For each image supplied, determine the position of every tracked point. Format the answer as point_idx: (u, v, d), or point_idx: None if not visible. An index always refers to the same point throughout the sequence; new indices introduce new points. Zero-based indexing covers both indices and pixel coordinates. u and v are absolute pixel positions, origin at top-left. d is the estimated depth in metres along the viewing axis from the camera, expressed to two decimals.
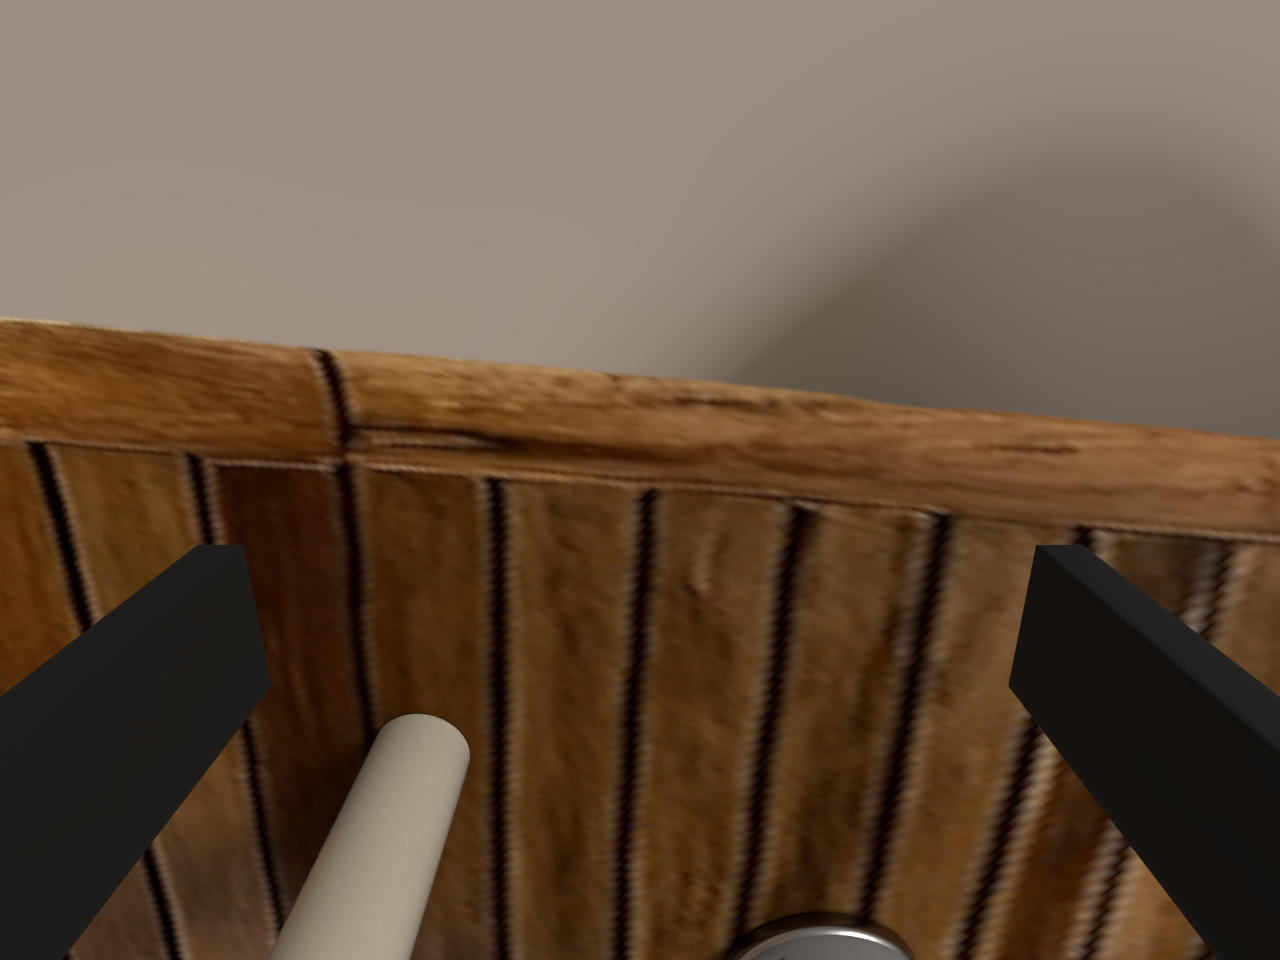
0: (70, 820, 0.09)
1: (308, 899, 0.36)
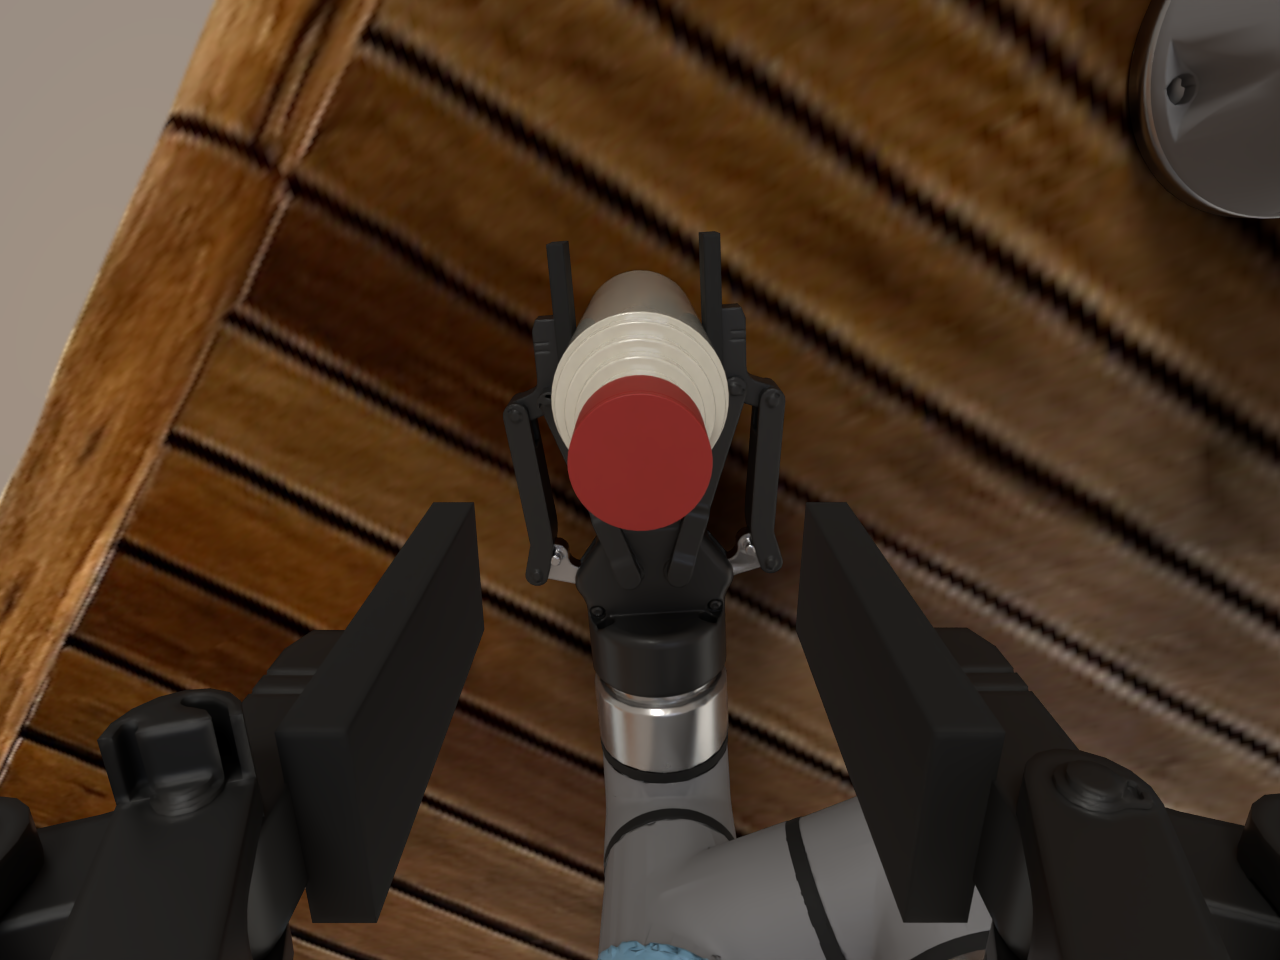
0: (413, 715, 0.10)
1: None
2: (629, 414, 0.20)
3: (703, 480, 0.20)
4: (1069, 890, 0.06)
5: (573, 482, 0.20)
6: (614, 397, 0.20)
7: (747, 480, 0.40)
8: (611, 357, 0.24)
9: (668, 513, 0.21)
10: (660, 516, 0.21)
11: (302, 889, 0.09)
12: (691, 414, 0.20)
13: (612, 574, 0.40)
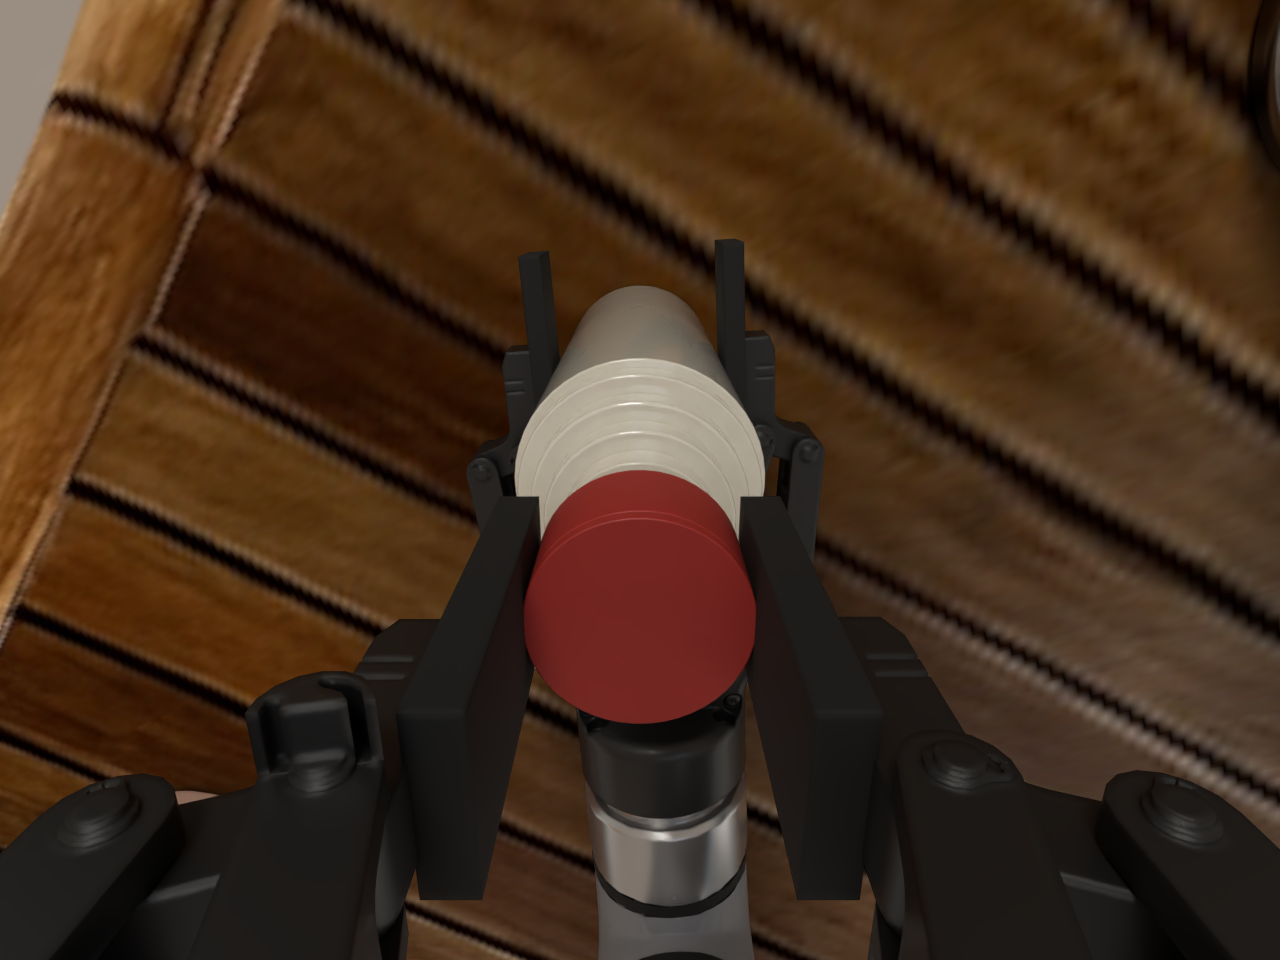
0: (503, 701, 0.11)
1: None
2: (622, 550, 0.12)
3: (742, 650, 0.13)
4: (935, 869, 0.06)
5: (532, 653, 0.13)
6: (597, 523, 0.12)
7: None
8: (598, 429, 0.17)
9: (685, 698, 0.13)
10: (672, 703, 0.13)
11: (414, 866, 0.09)
12: (724, 550, 0.12)
13: None
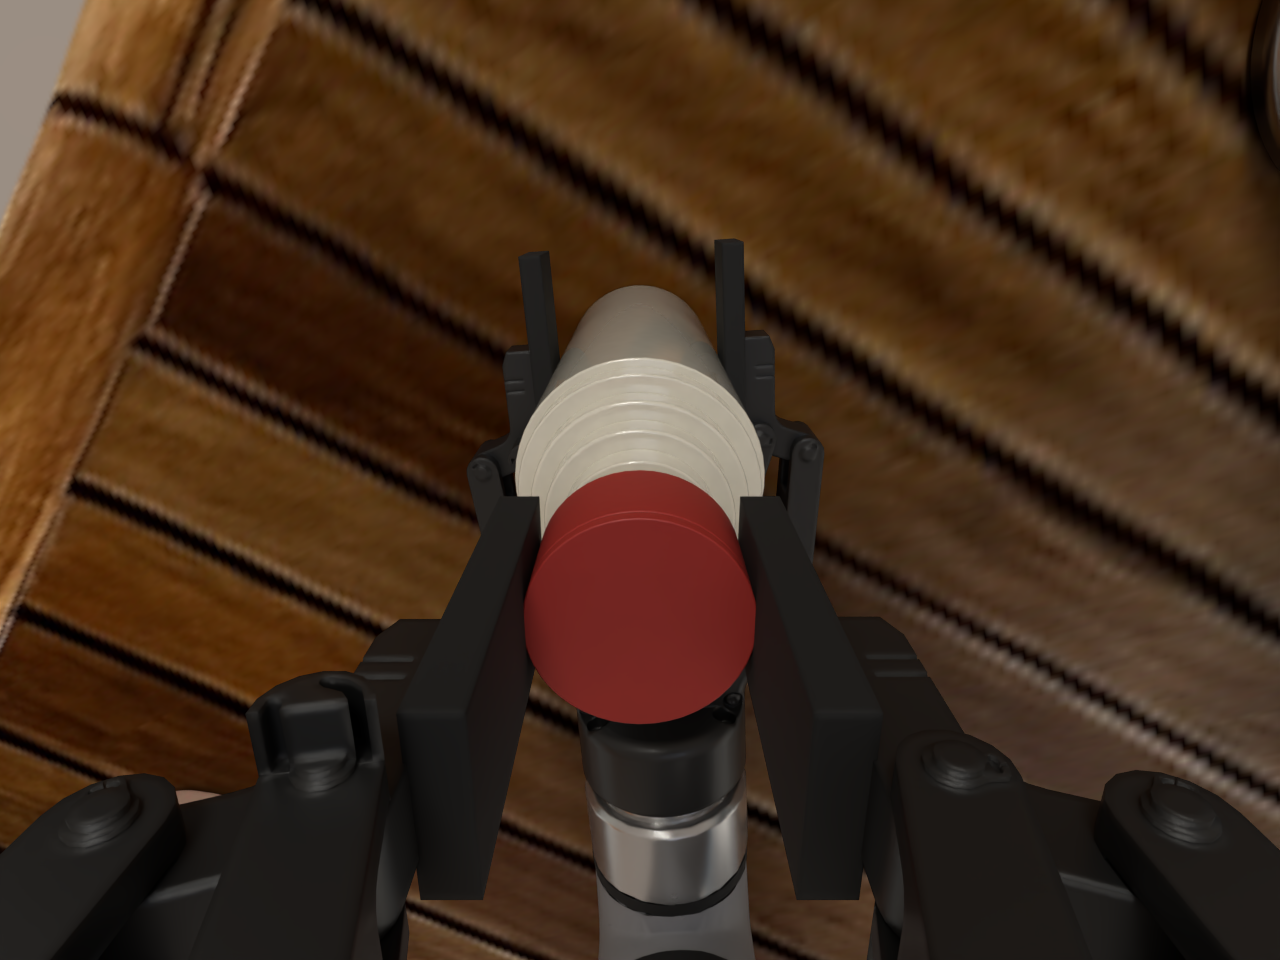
0: (504, 701, 0.11)
1: None
2: (557, 644, 0.13)
3: (663, 531, 0.12)
4: (934, 868, 0.06)
5: (673, 717, 0.13)
6: (533, 664, 0.13)
7: None
8: (598, 428, 0.17)
9: (725, 581, 0.12)
10: (730, 593, 0.12)
11: (414, 866, 0.09)
12: (549, 555, 0.12)
13: None
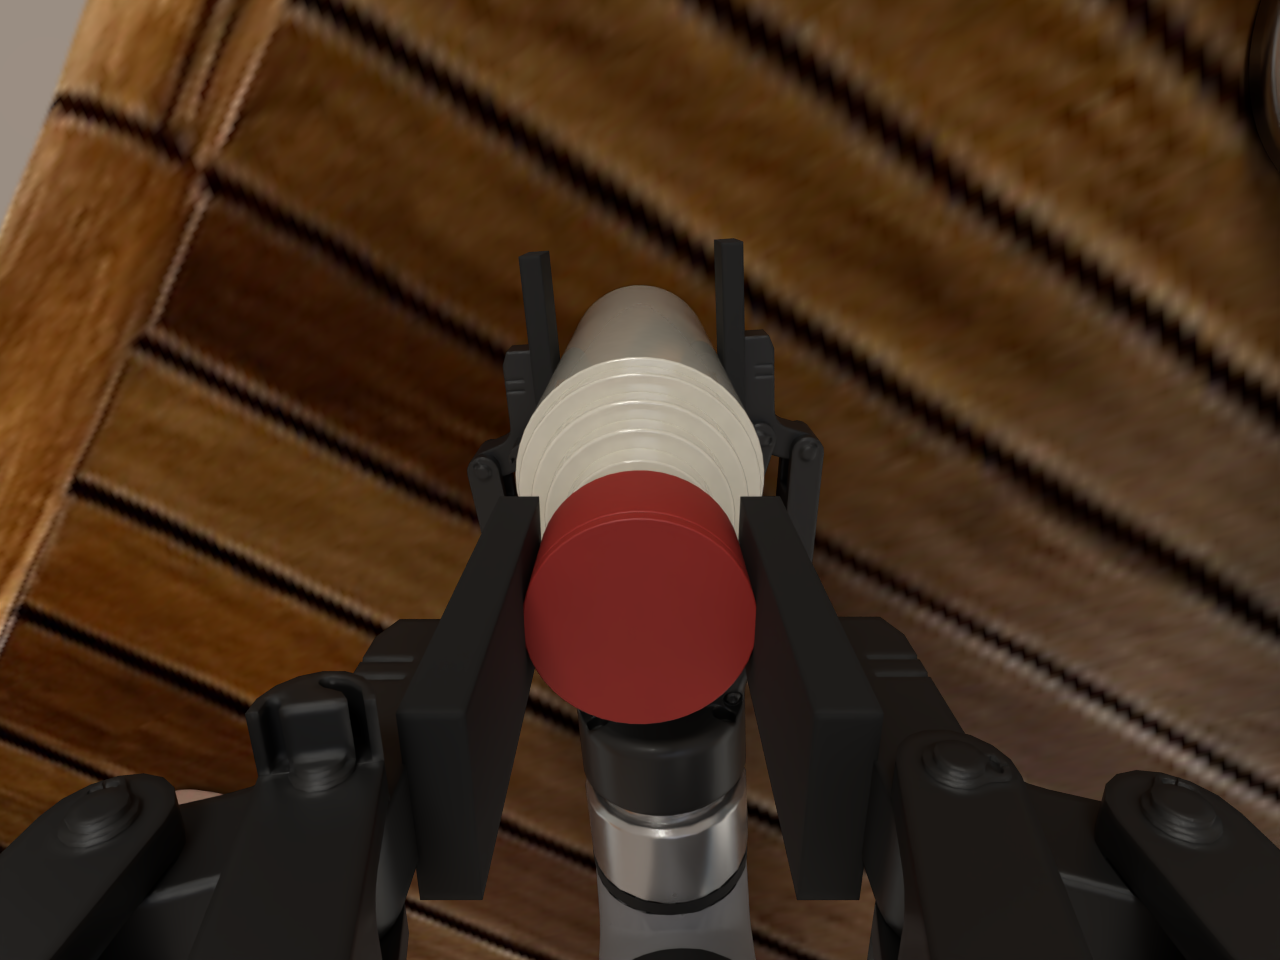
0: (503, 701, 0.11)
1: None
2: (663, 696, 0.13)
3: (533, 611, 0.12)
4: (934, 869, 0.06)
5: (747, 592, 0.12)
6: (687, 713, 0.13)
7: None
8: (598, 427, 0.17)
9: (582, 553, 0.12)
10: (595, 547, 0.12)
11: (414, 866, 0.09)
12: (569, 702, 0.13)
13: None
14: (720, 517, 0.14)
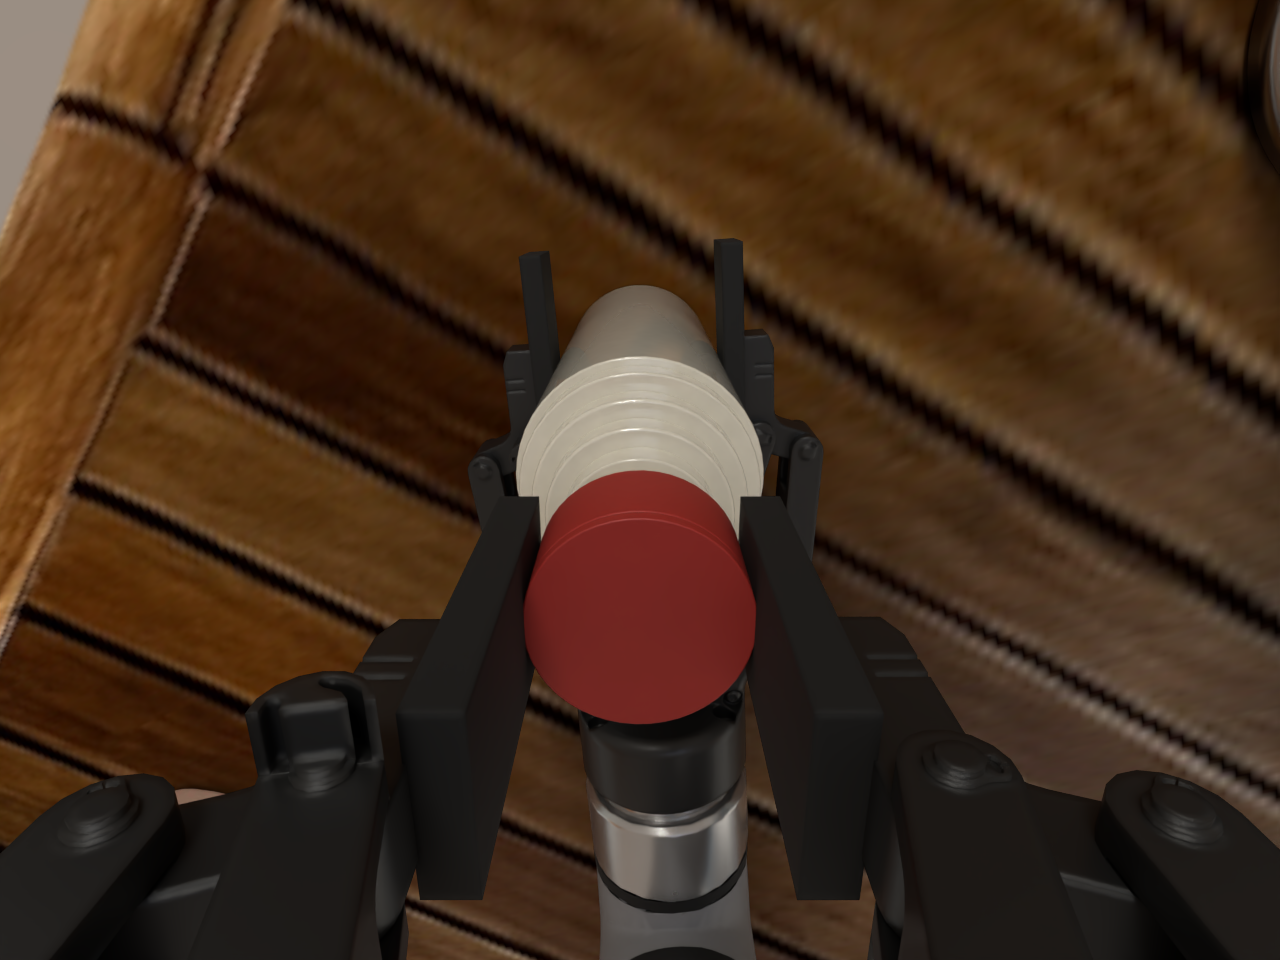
0: (503, 701, 0.11)
1: None
2: (721, 602, 0.12)
3: (627, 715, 0.13)
4: (934, 869, 0.06)
5: (592, 532, 0.12)
6: (746, 576, 0.12)
7: None
8: (598, 426, 0.17)
9: (563, 676, 0.13)
10: (555, 666, 0.13)
11: (414, 866, 0.09)
12: (730, 684, 0.13)
13: None
14: (562, 513, 0.13)
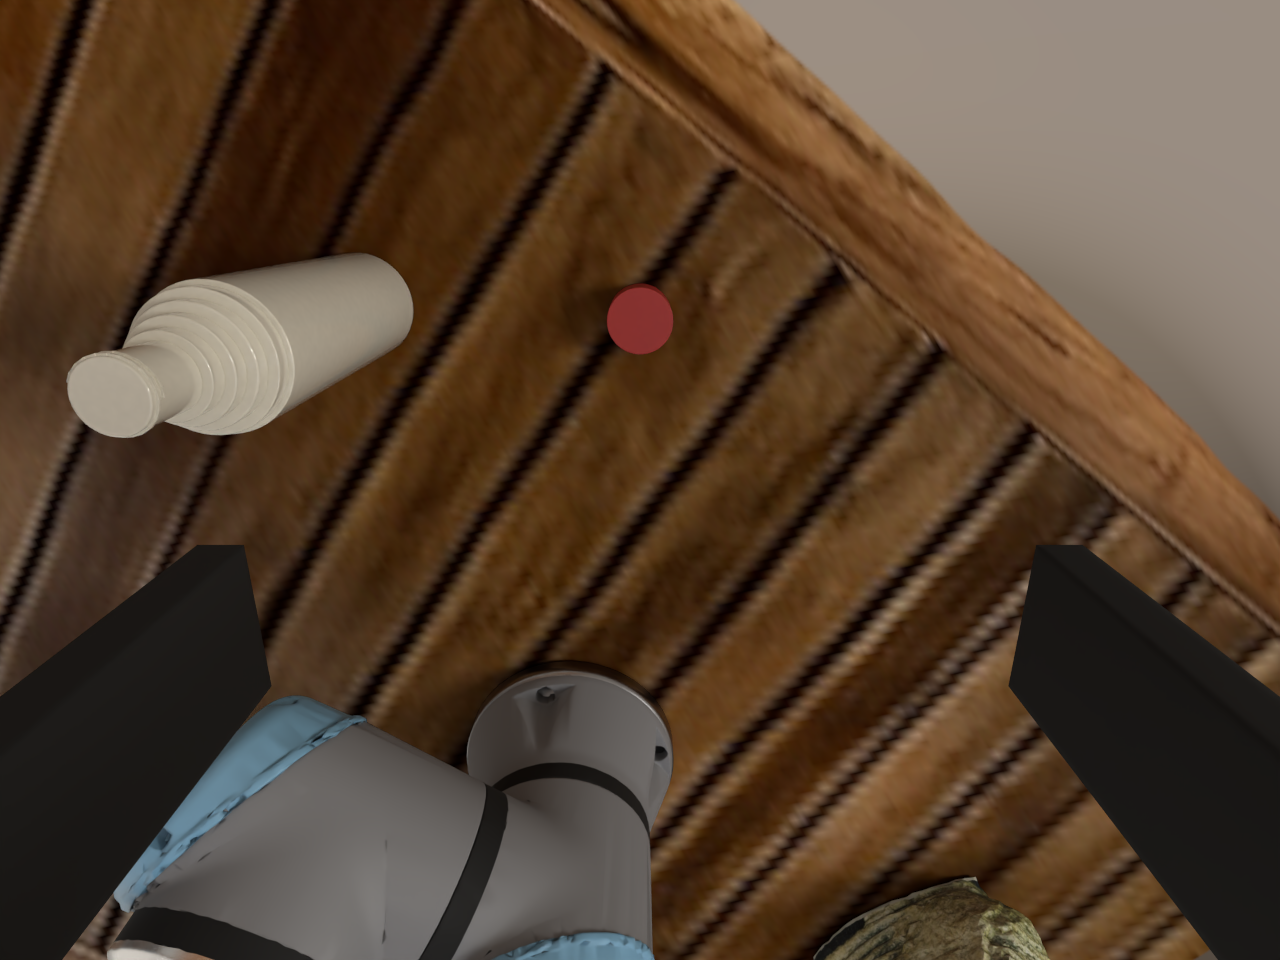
0: (70, 820, 0.09)
1: (250, 271, 0.33)
2: (630, 298, 0.44)
3: (669, 323, 0.45)
4: None
5: (611, 335, 0.45)
6: (622, 292, 0.44)
7: None
8: (238, 346, 0.28)
9: (657, 342, 0.45)
10: (653, 344, 0.45)
11: None
12: (658, 293, 0.44)
13: None
14: None
